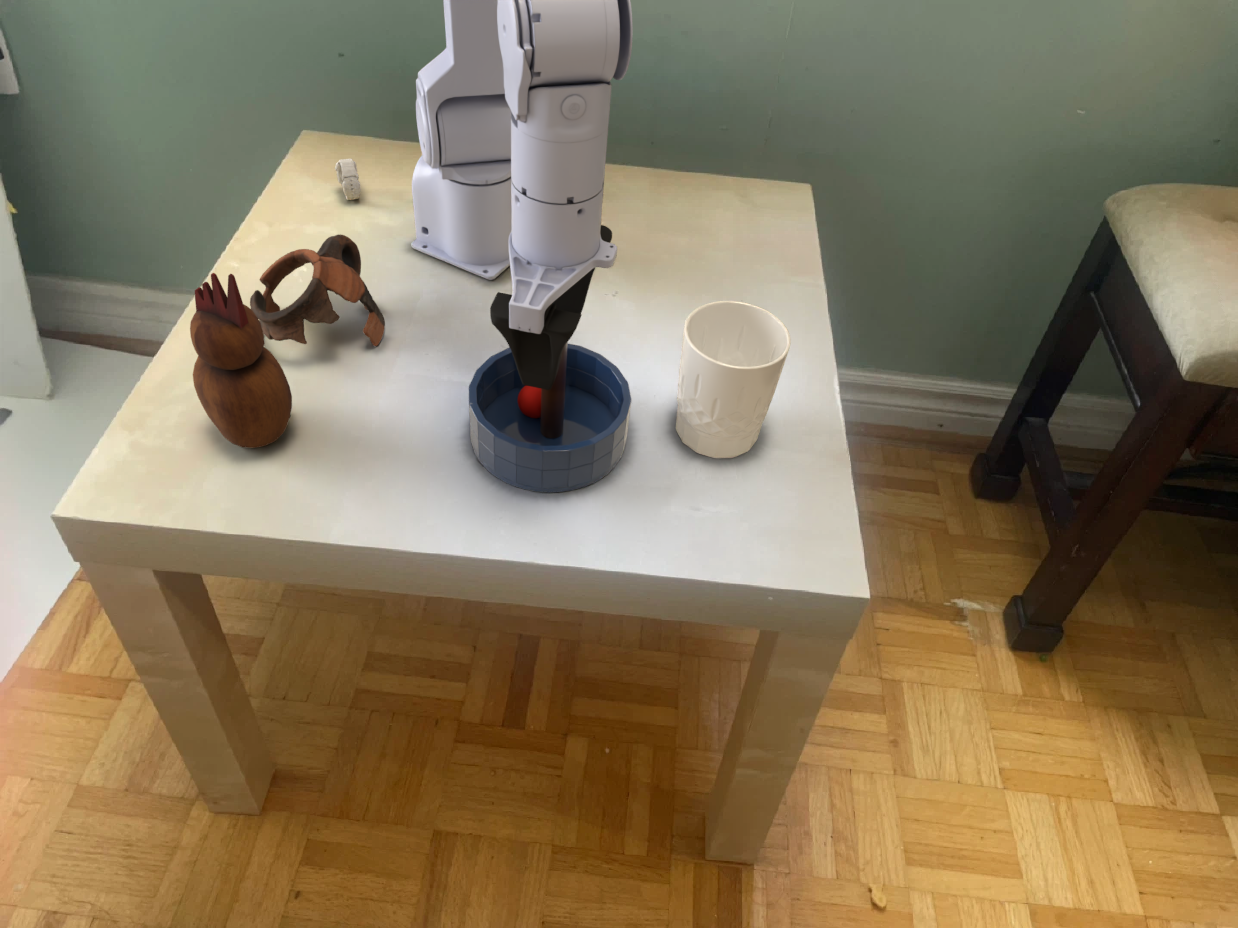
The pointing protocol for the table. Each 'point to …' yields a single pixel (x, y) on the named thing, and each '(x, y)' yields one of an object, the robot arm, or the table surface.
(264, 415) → the wooden figurine
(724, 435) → the white cup
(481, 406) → the bowl
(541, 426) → the stick
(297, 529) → the table surface
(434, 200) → the robot arm
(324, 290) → the brown curved pieces
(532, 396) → the red ball
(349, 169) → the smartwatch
